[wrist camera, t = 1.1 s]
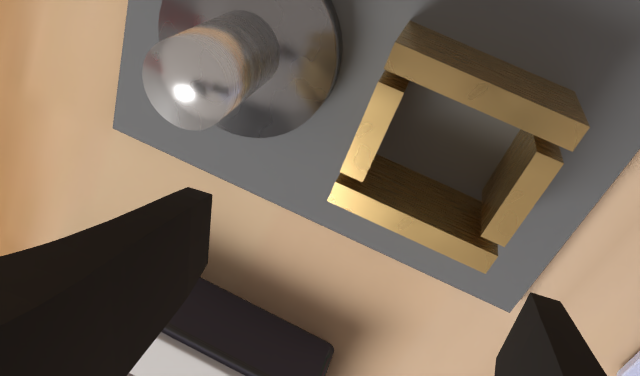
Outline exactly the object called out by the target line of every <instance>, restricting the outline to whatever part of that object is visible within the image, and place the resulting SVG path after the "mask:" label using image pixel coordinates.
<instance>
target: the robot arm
mask: <svg viewBox="0 0 640 376" xmlns="http://www.w3.org/2000/svg"><path fill="white" fill-rule="evenodd" d="M211 207H212V194H209V193H206V192H202V191H199V190H196V189H193V188H189V187H187V188H185V189H182V190H179V191H177V192H174V193H172V194H170V195H167V196H165V197H163V198H161V199H158V200H156V201H154V202H152V203H149V204H147V205H145V206H142V207H140V208H138V209H135V210H133V211H131V212H128V213H126V214H124V215H121V216H119V217H117V218H114V219H112V220H109V221H107V222H104V223H102V224H99V225H96V226H94V227H91V228H88V229H86V230H83V231H80V232H78V233H75V234H72V235H70V236H67V237H64V238H61V239H59V240H56V241H52V242H49V243H46V244H43V245H40V246H36V247H33V248H30V249H26V250H23V251H19V252H16V253H12V254H8V255H4V256H0V376H127V375H128V374H129V372H130V371H131V370H132V369H133V367H134V366H135V365H136V363H137V362H138V361H139V360H140V358H141V357H142V356H143V354H144V353H145V352H146V351H147V349H148V348H149V347H150V346H151V344H152V343H153V342H154V340H155V339H156V338H157V337H158V335H159V334H160V333H161V332H162V330H163V329H164V328H165V326H166V325H167V324H168V323H169V321H170V320H171V319H172V317H173V316H174V315H175V313H176V312H177V311H178V310H179V308H180V307H181V306H182V304H183V303H184V302H185V300H186V299H187V298H188V296H189V294H190V293H191V291H192V289H193V288H194V286H195V284H196V283H197V281H198V279H199V277H200V276H201V274H202V272H203V270H204V269H205V267H206V265H207V263H208V250H209V236H210V221H211ZM495 376H607V375H606V373H605V372H604V370H603V369H602V367H601V366H600V364H599V362H598V361H597V359H596V358H595V356H594V355H593V353H592V351H591V350H590V348H589V347H588V345H587V343H586V342H585V340H584V339H583V337H582V335H581V334H580V332H579V330H578V329H577V327H576V326H575V324H574V322H573V321H572V319H571V318H570V316H569V314H568V313H567V311H566V310H565V308H564V307H563V305H562V303H561V302H560V301H557V300H554V299H550V298H547V297H544V296H541V295H537V294H534V293H531V292H530V294H529V296H528V298H527V300H526V302H525V304H524V306H523V307H522V309H521V311H520V313H519V315H518V317H517V319H516V321H515V323H514V325H513V327H512V329H511V331H510V333H509V335H508V336H507V338H506V340H505V342H504V344H503V346H502V348H501V350H500V352H499V354H498V356H497V358H496V366H495ZM617 376H640V351H639V352H638V353H637V354H636V355H635V356H634V357H633V358H632V359H631V360H629V361H628V362H627V363H626V364H625V365H624V366H623V367H622V368H621V369H620V370H619V371H618V372H617Z"/></svg>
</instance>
